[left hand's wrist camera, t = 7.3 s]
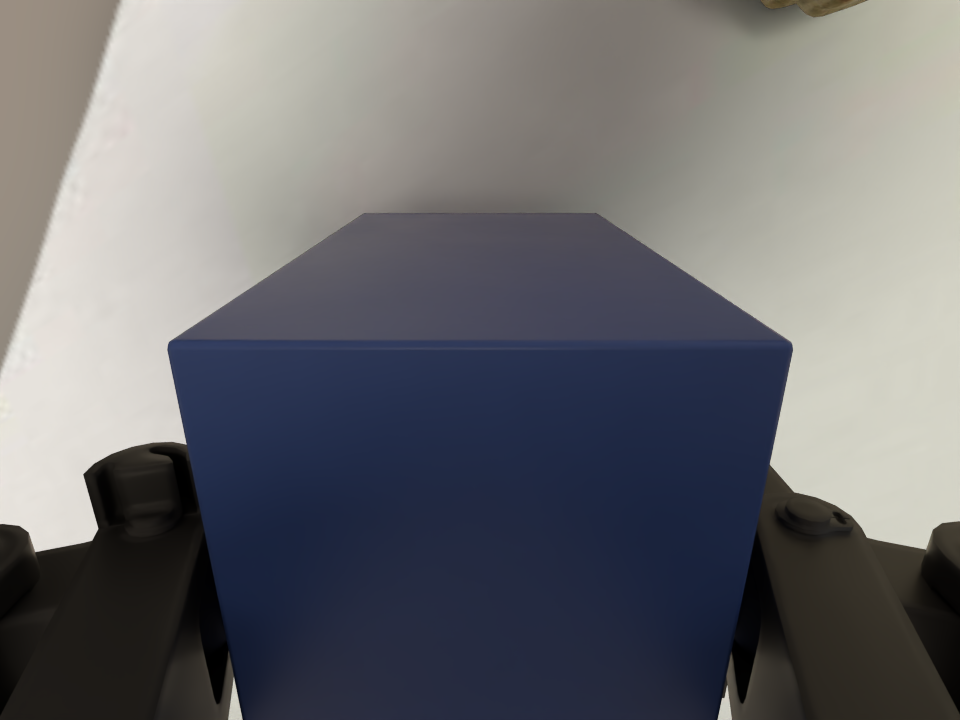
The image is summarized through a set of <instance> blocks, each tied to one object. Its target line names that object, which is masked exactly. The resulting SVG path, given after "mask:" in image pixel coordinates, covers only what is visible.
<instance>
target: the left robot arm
mask: <svg viewBox="0 0 960 720" xmlns="http://www.w3.org/2000/svg"><path fill="white" fill-rule="evenodd" d="M83 475H84V479H85V482H86V486H87V489H88V493H89V496H90V500H91V503H92V507H93V511H94V514H95V518H96V521H97V525H98V528H99V529H98V531H97V533H96V535H95V537H94V538H93V540H92V541H90V542H86V543H81V544H76V545H71V546H66V547H60V548H55V549H50V550H45V551H40V552H35V551H34V548H33V545H32V542H31V539H30V536H29V533H28V532H27V531H26V530H24V529H23V528H21V527H20V526H15V525H6V524H0V720H228V716H229V708H230V701H231V693H232V686H233V678H234V674H233V669H232V664H231V659H230V654H229V649H228V644H227V640H226V635H225V630H224V625H223V620H222V615H221V610H220V605H219V600H218V595H217V590H216V585H215V581H214V576H213V571H212V566H211V561H210V556H209V551H208V546H207V541H206V536H205V531H204V527H203V522H202V517H201V512H200V507H199V502H198V497H197V492H196V487H195V482H194V477H193V472H192V468H191V463H190V458H189V453H188V448H187V445H185V444H180V443H175V442H161V443H150V444H145V445H140V446H134V447H131V448H128V449H125V450H122V451H119V452H116V453H113V454H111V455H109V456H107V457H106V458H104V459H102V460H100V461H98V462H97V463H95V464H94V465H93V466H91V467H90V468H89V469H88V470H87V471H86V472H85V473H84V474H83ZM727 685H728V692H729V699H730V707H731V715H732V720H960V521H958V522H949V523H942V524H940V525H939V526H938V527H936V528H935V529H933V531H932V534H931V537H930V540H929V543H928V546H927V549H926V550H925V549H919V548H914V547H909V546H904V545H898V544H893V543H888V542H883V541H878V540H874V539H870V538H867V537H866V535H865V534H864V532H863V530H862V528H861V527H860V526H859V524H858V523H857V522H856V521H855V520H854V519H853V517H852V516H850V515H849V514H847V513H846V512H844V511H843V510H841V509H840V508H838V507H837V506H835V505H833V504H830V503H828V502H826V501H823V500H821V499H818V498H816V497H812V496H808V495H803V494H799V493H794V492H793V491H792V489H791V488H790V487H789V486H788V485H787V484H786V483H785V482H784V480H783V479H782V478H781V477H780V476H779V475H778V474H777V472H776V471H775V470H774V469H773V468H772V467H771V466H770V465H769V469H768V474H767V479H766V484H765V489H764V494H763V499H762V504H761V509H760V514H759V519H758V523H757V528H756V533H755V538H754V543H753V548H752V553H751V558H750V563H749V568H748V572H747V577H746V582H745V587H744V592H743V597H742V602H741V607H740V612H739V617H738V621H737V626H736V631H735V636H734V641H733V646H732V651H731V656H730V661H729V666H728V671H727V675H726V680H725V685H724V690H723V695H722V698H724V697H725V692H726V687H727Z"/></svg>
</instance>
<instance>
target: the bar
mask: <svg viewBox="0 0 960 720" xmlns="http://www.w3.org/2000/svg"><path fill="white" fill-rule="evenodd" d="M792 352H793V347H792V343H791V342H790V341H789V340H787V339H786V338H784V337H783V336H781V335H780V334H778V333H777V332H775V331H774V330H772V329H771V328H769V327H768V326H766V325H765V324H763V323H762V322H760V321H758V320H757V319H755V318H754V317H752V316H751V315H749V314H748V313H746V312H745V311H743V310H742V309H740V308H739V307H737V306H736V305H734V304H733V303H731V302H730V301H728V300H727V299H725V298H724V297H722V296H721V295H719V294H718V293H716V292H715V291H713V290H712V289H710V288H709V287H707V286H706V285H704V284H703V283H701V282H700V281H698V280H697V279H695V278H694V277H692V276H691V275H689V274H687V273H686V272H684V271H683V270H681V269H680V268H678V267H677V266H675V265H674V264H672V263H671V262H669V261H668V260H666V259H665V258H663V257H662V256H660V255H659V254H657V253H656V252H654V251H653V250H651V249H650V248H648V247H647V246H645V245H644V244H642V243H641V242H639V241H638V240H636V239H635V238H633V237H632V236H630V235H629V234H627V233H626V232H624V231H623V230H621V229H620V228H618V227H616V226H615V225H613V224H612V223H610V222H609V221H607V220H606V219H604V218H603V217H601V216H600V215H598V214H596V213H364V214H362V215H361V216H359V217H358V218H356V219H355V220H353V221H352V222H350V223H349V224H347V225H346V226H344V227H343V228H341V229H340V230H338V231H336V232H335V233H333V234H332V235H330V236H329V237H327V238H326V239H324V240H323V241H321V242H320V243H318V244H317V245H315V246H314V247H312V248H311V249H309V250H308V251H306V252H305V253H303V254H302V255H300V256H299V257H297V258H296V259H294V260H293V261H291V262H290V263H288V264H287V265H285V266H283V267H282V268H280V269H279V270H277V271H276V272H274V273H273V274H271V275H270V276H268V277H267V278H265V279H264V280H262V281H261V282H259V283H258V284H256V285H255V286H253V287H252V288H250V289H249V290H247V291H246V292H244V293H243V294H241V295H240V296H238V297H237V298H235V299H234V300H232V301H230V302H229V303H227V304H226V305H224V306H223V307H221V308H220V309H218V310H217V311H215V312H214V313H212V314H211V315H209V316H208V317H206V318H205V319H203V320H202V321H200V322H199V323H197V324H196V325H194V326H193V327H191V328H190V329H188V330H187V331H185V332H184V333H182V334H181V335H179V336H178V337H176V338H174V339H173V340H171V341H170V342H169V344H168V355H169V359H170V364H171V369H172V374H173V379H174V384H175V389H176V394H177V399H178V404H179V409H180V414H181V418H182V423H183V428H184V433H185V438H186V443H187V448H188V453H189V458H190V463H191V468H192V472H193V477H194V482H195V487H196V492H197V497H198V502H199V507H200V512H201V517H202V522H203V527H204V531H205V536H206V541H207V546H208V551H209V556H210V561H211V566H212V571H213V576H214V581H215V585H216V590H217V595H218V600H219V605H220V610H221V615H222V620H223V625H224V630H225V635H226V640H227V644H228V649H229V654H230V659H231V664H232V669H233V674H234V679H235V684H236V689H237V694H238V699H239V703H240V708H241V713H242V718H243V720H718V715H719V710H720V705H721V700H722V695H723V690H724V685H725V680H726V675H727V671H728V666H729V661H730V656H731V651H732V646H733V641H734V636H735V631H736V626H737V621H738V617H739V612H740V607H741V602H742V597H743V592H744V587H745V582H746V577H747V572H748V568H749V563H750V558H751V553H752V548H753V543H754V538H755V533H756V528H757V523H758V519H759V514H760V509H761V504H762V499H763V494H764V489H765V484H766V479H767V474H768V469H769V465H770V460H771V455H772V450H773V445H774V440H775V435H776V430H777V425H778V420H779V416H780V411H781V406H782V401H783V396H784V391H785V386H786V381H787V376H788V371H789V367H790V362H791V357H792Z"/></svg>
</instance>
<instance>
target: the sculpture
mask: <svg viewBox="0 0 960 720" xmlns="http://www.w3.org/2000/svg"><path fill="white" fill-rule="evenodd" d="M865 1H867V0H761V2H762V3H763V4H764V5H765V6H766V7H767V8H771V9H775V8H782V7H786V6H789V5H793V4H796V3H797V5H798V6H799V7H800V9H801V10H802V11H803V12H805V13H806V14H807V15H809V16H812V17H820V16H825V15H828V14H831V13H834V12H836V11H839V10H842V9H845V8H848V7H851V6H854V5H857V4H859V3H862V2H865Z"/></svg>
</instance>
